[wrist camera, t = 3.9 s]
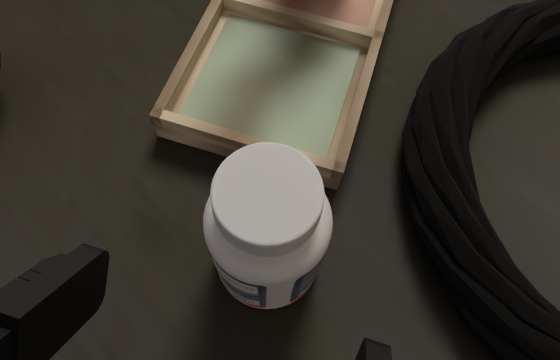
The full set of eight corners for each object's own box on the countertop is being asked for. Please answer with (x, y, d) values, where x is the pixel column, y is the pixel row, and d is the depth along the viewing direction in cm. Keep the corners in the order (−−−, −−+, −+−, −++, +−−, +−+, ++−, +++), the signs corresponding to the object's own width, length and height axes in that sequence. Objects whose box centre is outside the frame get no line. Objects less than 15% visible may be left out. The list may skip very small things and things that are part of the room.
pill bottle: (304, 204, 25) (325, 115, 16) (328, 298, 22) (365, 247, 14) (209, 222, 24) (183, 138, 16) (224, 320, 22) (203, 279, 14)
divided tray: (403, -38, 33) (412, -65, 31) (336, 190, 25) (343, 173, 23) (265, -72, 34) (265, -100, 32) (157, 136, 26) (149, 115, 24)
